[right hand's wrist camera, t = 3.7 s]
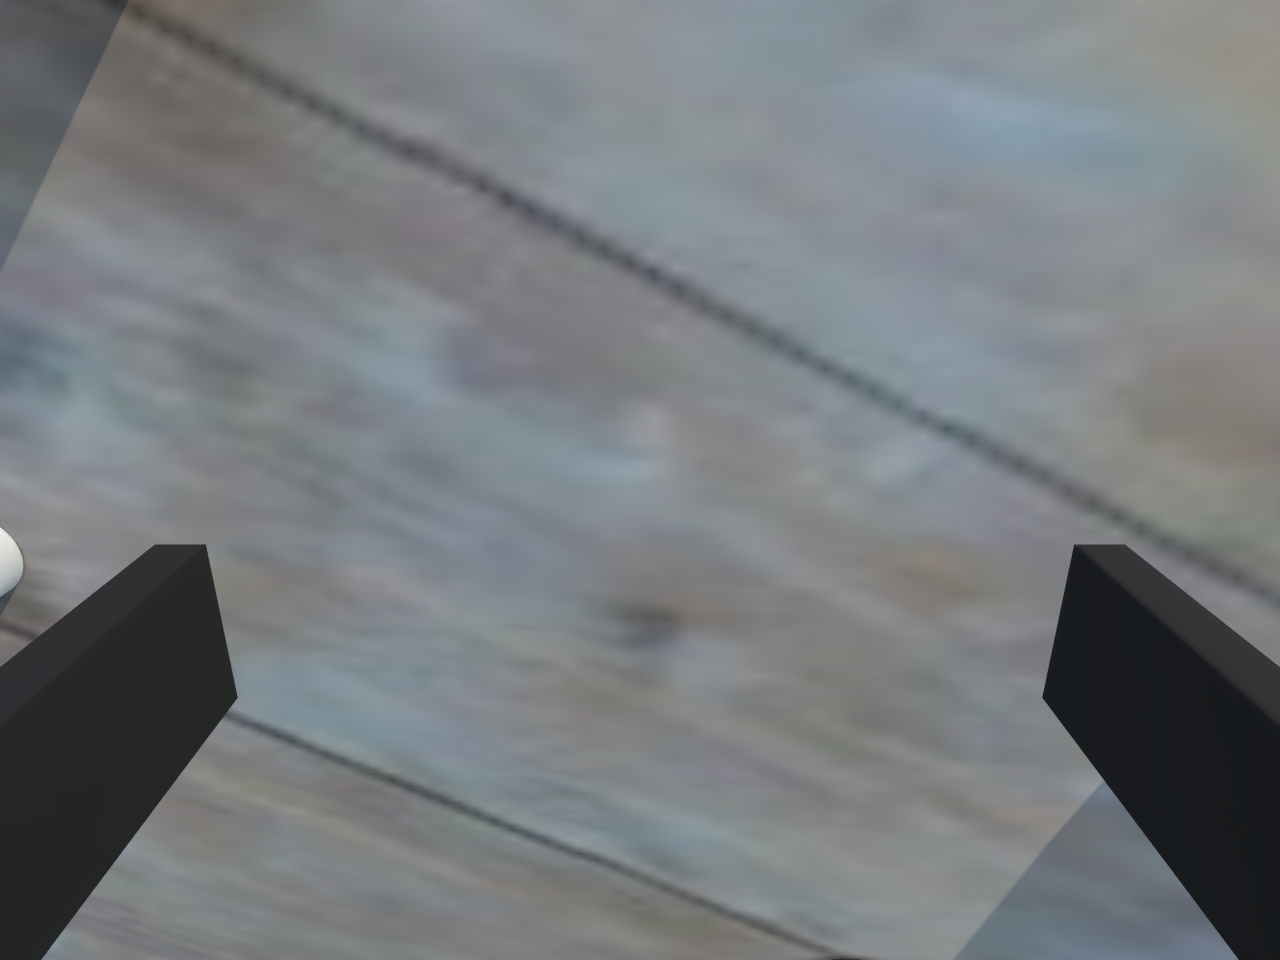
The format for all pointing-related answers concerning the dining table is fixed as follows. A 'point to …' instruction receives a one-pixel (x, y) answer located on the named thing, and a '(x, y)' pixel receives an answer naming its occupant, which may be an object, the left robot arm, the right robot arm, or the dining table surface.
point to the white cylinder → (9, 563)
